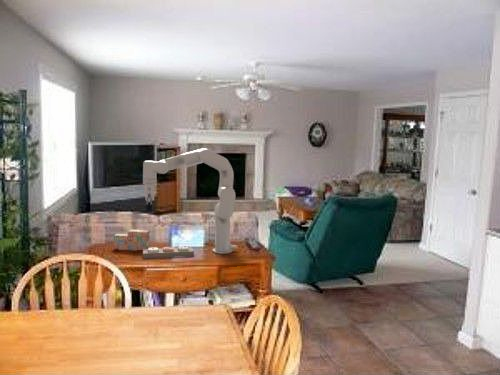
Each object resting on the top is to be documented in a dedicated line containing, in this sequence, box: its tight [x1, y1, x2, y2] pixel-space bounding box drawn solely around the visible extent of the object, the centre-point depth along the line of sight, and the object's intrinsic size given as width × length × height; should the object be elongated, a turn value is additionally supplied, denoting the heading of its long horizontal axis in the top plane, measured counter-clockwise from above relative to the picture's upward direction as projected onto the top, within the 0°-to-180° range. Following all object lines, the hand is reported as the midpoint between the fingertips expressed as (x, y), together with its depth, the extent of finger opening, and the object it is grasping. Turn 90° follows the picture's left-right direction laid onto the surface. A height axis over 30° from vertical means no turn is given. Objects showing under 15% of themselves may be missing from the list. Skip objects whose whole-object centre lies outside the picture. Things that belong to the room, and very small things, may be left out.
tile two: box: [177, 245, 188, 251], centre depth 272 cm, size 6×6×3 cm
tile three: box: [162, 246, 174, 252], centre depth 270 cm, size 6×6×3 cm
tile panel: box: [142, 246, 195, 259], centre depth 270 cm, size 30×10×3 cm, turn 103°
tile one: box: [148, 247, 159, 253], centre depth 268 cm, size 6×6×3 cm
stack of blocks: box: [113, 228, 150, 251], centre depth 283 cm, size 21×6×12 cm, turn 84°
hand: (148, 209), depth 267 cm, fingers open, 9 cm apart
